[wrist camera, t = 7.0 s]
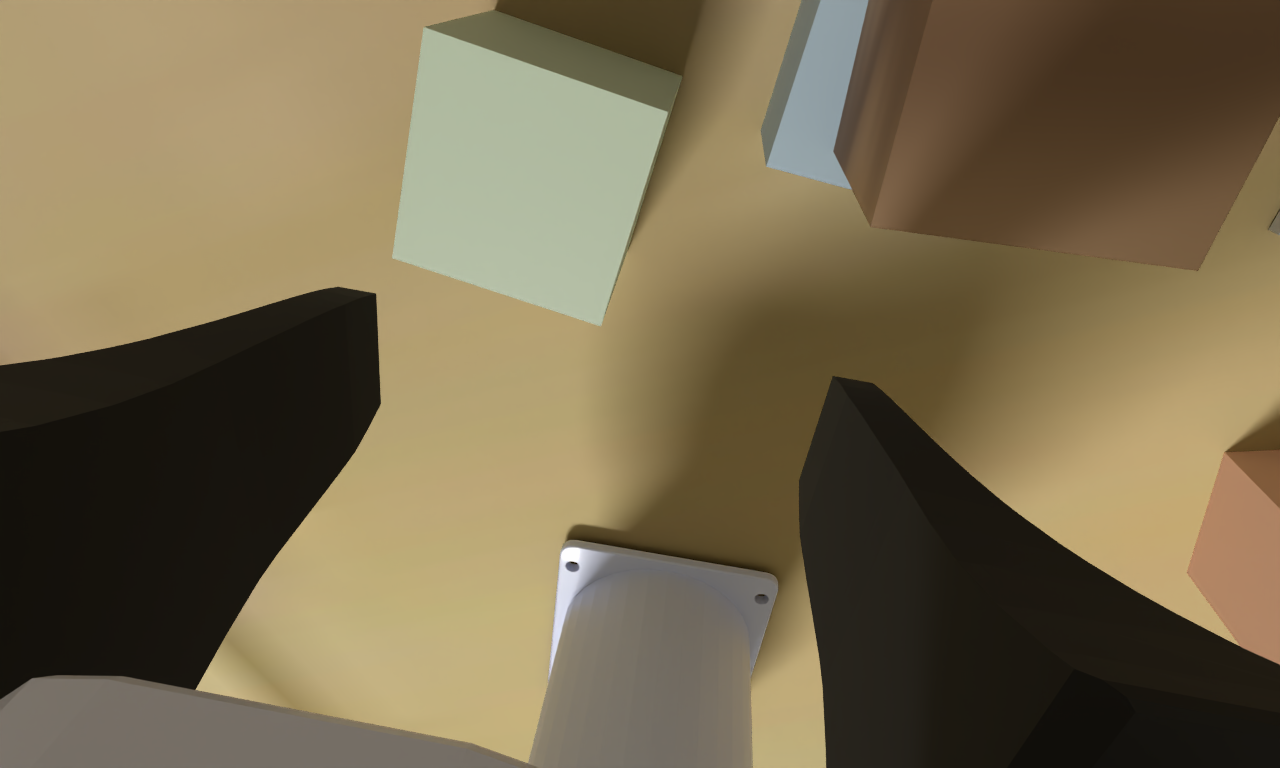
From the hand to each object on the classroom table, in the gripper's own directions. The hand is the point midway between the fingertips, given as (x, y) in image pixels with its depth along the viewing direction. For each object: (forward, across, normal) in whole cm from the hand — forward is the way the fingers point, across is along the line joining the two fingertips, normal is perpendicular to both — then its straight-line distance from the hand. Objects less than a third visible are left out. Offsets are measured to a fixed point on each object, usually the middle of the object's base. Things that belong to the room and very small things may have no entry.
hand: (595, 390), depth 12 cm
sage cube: (+10, +3, -1) cm, 11 cm away
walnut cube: (+7, -6, -6) cm, 11 cm away
